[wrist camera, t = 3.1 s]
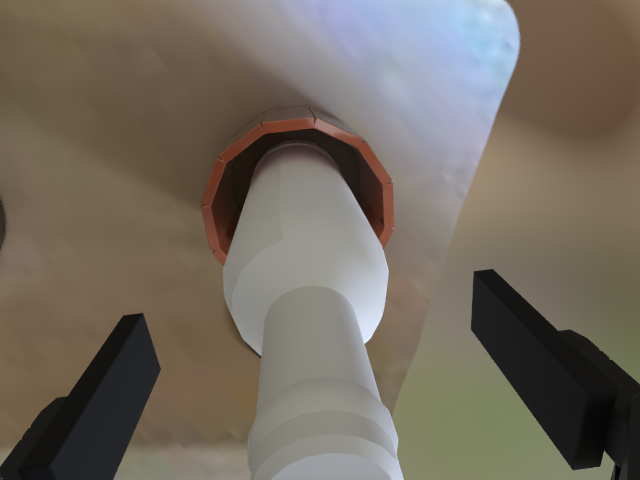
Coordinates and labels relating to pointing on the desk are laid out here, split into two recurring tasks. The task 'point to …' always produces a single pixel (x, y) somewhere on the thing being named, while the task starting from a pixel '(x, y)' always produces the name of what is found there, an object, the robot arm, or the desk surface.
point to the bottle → (310, 321)
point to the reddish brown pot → (219, 189)
